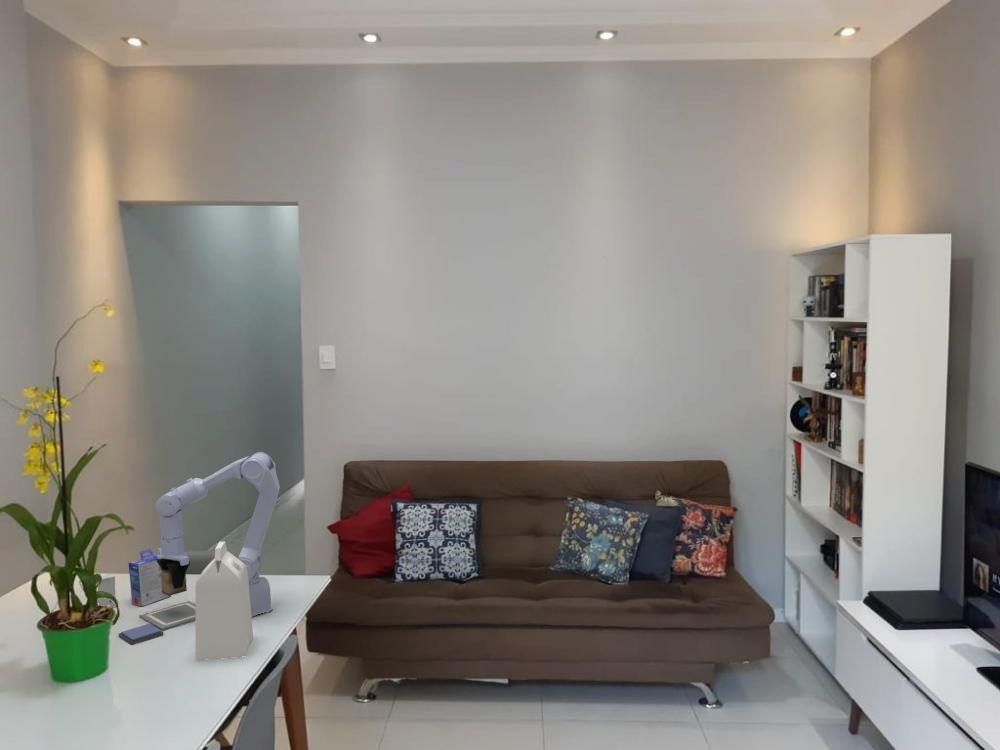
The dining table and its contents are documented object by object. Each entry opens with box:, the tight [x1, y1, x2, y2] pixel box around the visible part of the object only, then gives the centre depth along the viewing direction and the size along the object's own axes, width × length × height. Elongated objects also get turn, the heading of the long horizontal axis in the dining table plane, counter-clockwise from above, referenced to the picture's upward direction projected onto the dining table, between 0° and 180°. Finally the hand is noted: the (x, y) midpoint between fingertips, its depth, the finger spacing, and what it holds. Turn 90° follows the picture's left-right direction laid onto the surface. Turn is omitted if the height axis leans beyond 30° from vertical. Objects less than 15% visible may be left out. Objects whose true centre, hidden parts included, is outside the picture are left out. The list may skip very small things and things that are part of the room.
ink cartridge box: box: [128, 548, 172, 607], centre depth 228 cm, size 10×6×14 cm, turn 148°
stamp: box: [161, 569, 188, 597], centre depth 215 cm, size 5×4×6 cm
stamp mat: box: [138, 600, 195, 632], centre depth 216 cm, size 14×14×1 cm
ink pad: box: [118, 623, 164, 646], centre depth 203 cm, size 8×8×1 cm
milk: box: [194, 540, 254, 661], centre depth 193 cm, size 12×12×26 cm
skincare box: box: [98, 572, 116, 607], centre depth 214 cm, size 6×4×12 cm
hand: (174, 585), depth 215 cm, fingers closed on stamp, 4 cm apart
